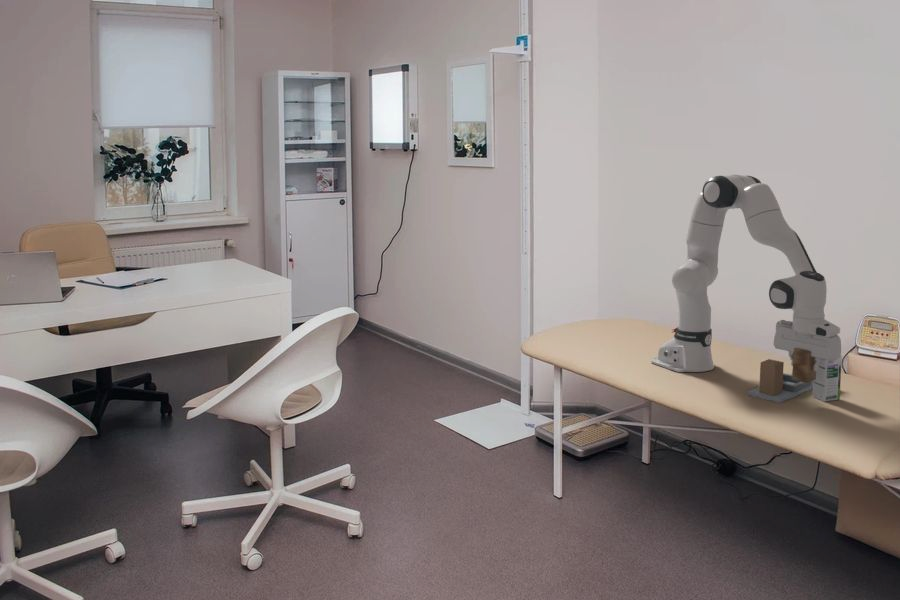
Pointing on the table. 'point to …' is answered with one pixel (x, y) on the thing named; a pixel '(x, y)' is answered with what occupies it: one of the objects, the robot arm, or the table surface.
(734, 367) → the table surface
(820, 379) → the syrup box
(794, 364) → the block
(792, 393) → the grey base with blocks
